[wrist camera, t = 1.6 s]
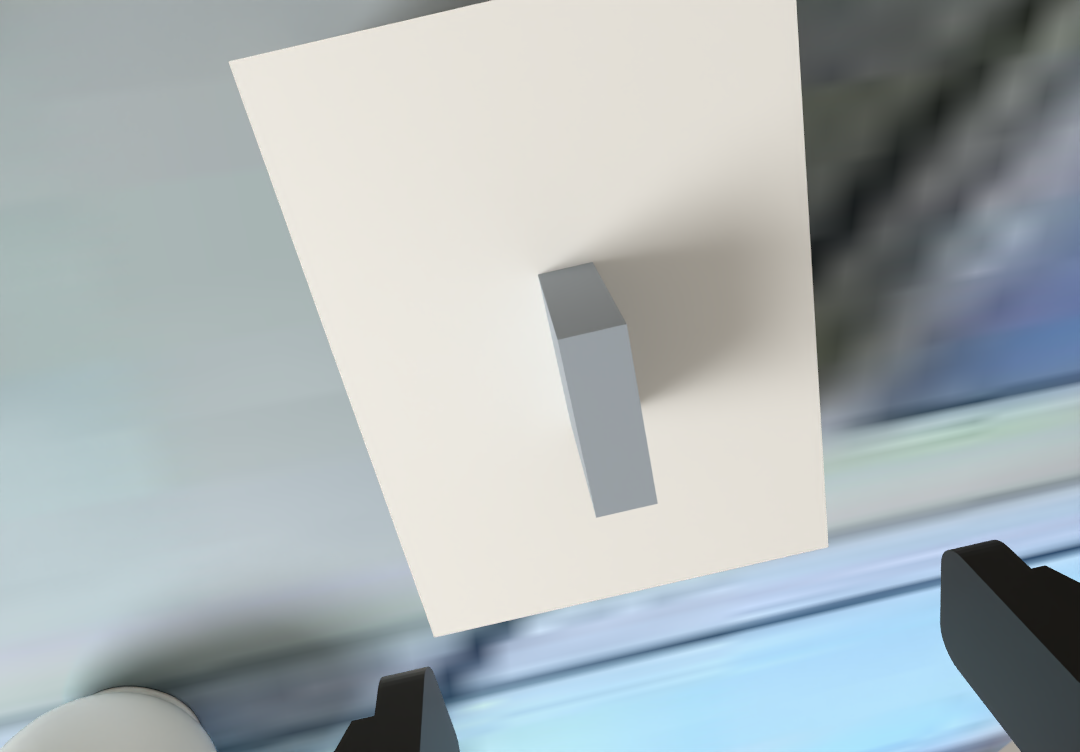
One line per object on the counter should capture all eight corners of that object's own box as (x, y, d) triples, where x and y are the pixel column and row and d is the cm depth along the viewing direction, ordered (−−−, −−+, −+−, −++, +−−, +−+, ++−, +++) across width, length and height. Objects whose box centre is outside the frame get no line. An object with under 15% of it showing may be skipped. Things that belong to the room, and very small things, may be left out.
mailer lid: (253, 57, 21) (155, 73, 14) (756, -60, 21) (896, -100, 14) (436, 590, 29) (429, 760, 23) (799, 506, 29) (901, 652, 22)
